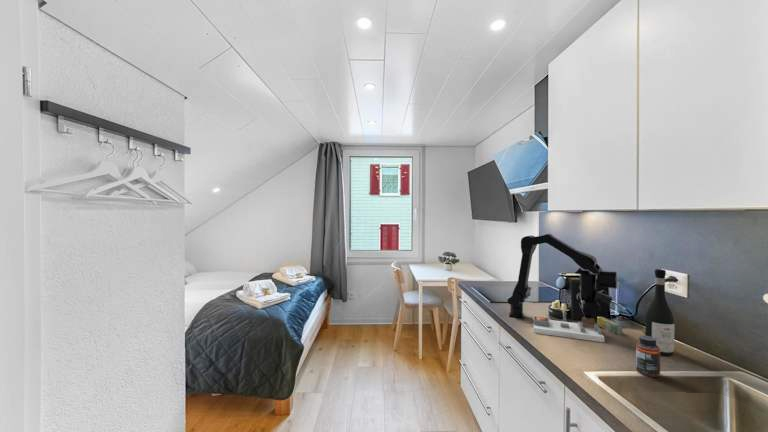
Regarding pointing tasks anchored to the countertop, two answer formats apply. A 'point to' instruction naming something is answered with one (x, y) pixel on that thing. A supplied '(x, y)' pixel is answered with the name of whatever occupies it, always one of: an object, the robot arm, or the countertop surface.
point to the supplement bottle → (648, 357)
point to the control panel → (568, 330)
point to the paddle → (588, 322)
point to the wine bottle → (660, 317)
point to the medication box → (609, 325)
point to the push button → (540, 318)
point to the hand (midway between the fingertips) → (587, 321)
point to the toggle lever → (564, 315)
